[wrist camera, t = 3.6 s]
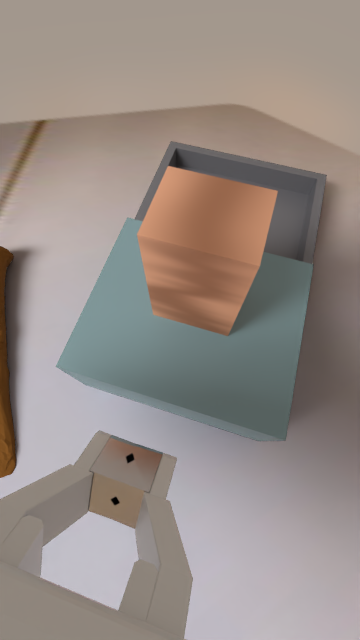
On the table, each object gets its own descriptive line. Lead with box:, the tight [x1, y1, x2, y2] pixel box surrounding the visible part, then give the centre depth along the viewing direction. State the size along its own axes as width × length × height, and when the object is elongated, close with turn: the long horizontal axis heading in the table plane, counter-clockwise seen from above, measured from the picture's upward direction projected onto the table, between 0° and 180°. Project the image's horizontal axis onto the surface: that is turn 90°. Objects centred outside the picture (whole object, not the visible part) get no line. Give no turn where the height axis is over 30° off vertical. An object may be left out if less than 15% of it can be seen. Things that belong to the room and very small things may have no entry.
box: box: [135, 141, 327, 264], centre depth 28 cm, size 16×13×2 cm
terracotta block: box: [137, 166, 278, 336], centre depth 16 cm, size 5×4×8 cm
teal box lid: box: [56, 218, 314, 441], centre depth 22 cm, size 14×12×6 cm
